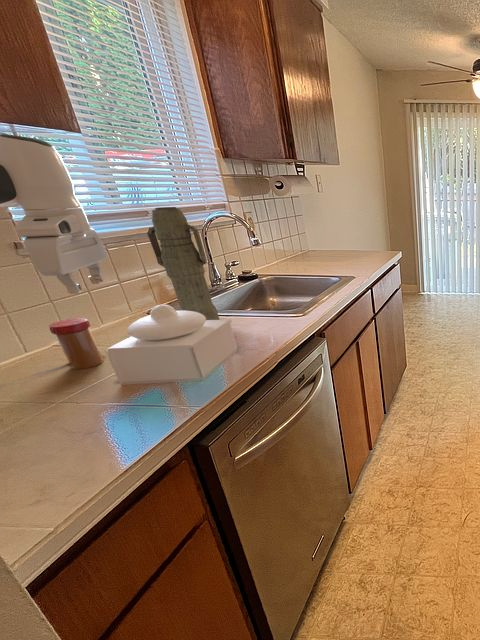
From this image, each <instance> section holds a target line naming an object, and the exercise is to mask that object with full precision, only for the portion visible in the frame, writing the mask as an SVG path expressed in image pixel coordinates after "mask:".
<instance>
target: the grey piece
mask: <svg viewBox="0 0 480 640" xmlns="http://www.w3.org/2000/svg"><path fill="white" fill-rule="evenodd" d="M151 223H152V227H149V228H148V230H147V233H146V234H147V237H148V240H149V242H150V244H151V247H152V250H153V252H154V254H155V257H156V261H157V264H158V265H159V266H161V267H163V268H164V269H165V273H166V276H167V277H168V278H169V279H170V281H171V285H172V287H173V289H174V293H175V295H176V299H177V302H178V305H179V308H180V311H194V312H198V313H201V314H202V315H204V316H205V317H206V320H221V319H220V316H219V313H218V310H217V307H216V306H215V305H214V303H213V301H212V297H211V294H210V291H209V288H208V284H207V280H206V277H205V272H206V271H205V268H204V265H207V264H208V262H207V261H208V260H207V257H206V253H205V249H204V246H203V242H202V239H201V236H200V232H199V230H198V229H197V227H195V225H191V224H189V223H188V219H187V217H186V215H185V214H184V212H183V211H182V210H181V208H178V207H176V206H163V207H161V206H160V207H154V209H151ZM191 232H192V233H193V236H194V240H195V243H196V245H195V243H194V242H193V239H192V238H193V236H192V233H191ZM158 240H159V241H158ZM196 246H197V247H196Z"/></svg>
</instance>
